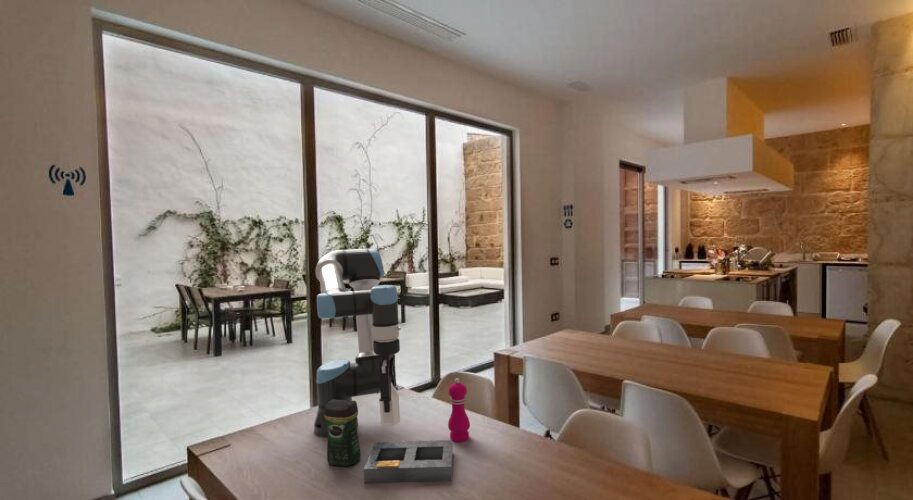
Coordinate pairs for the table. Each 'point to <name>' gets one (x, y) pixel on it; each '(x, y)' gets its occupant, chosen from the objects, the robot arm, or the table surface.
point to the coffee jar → (342, 432)
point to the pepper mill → (458, 413)
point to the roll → (395, 407)
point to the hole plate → (409, 462)
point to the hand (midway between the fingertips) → (390, 417)
